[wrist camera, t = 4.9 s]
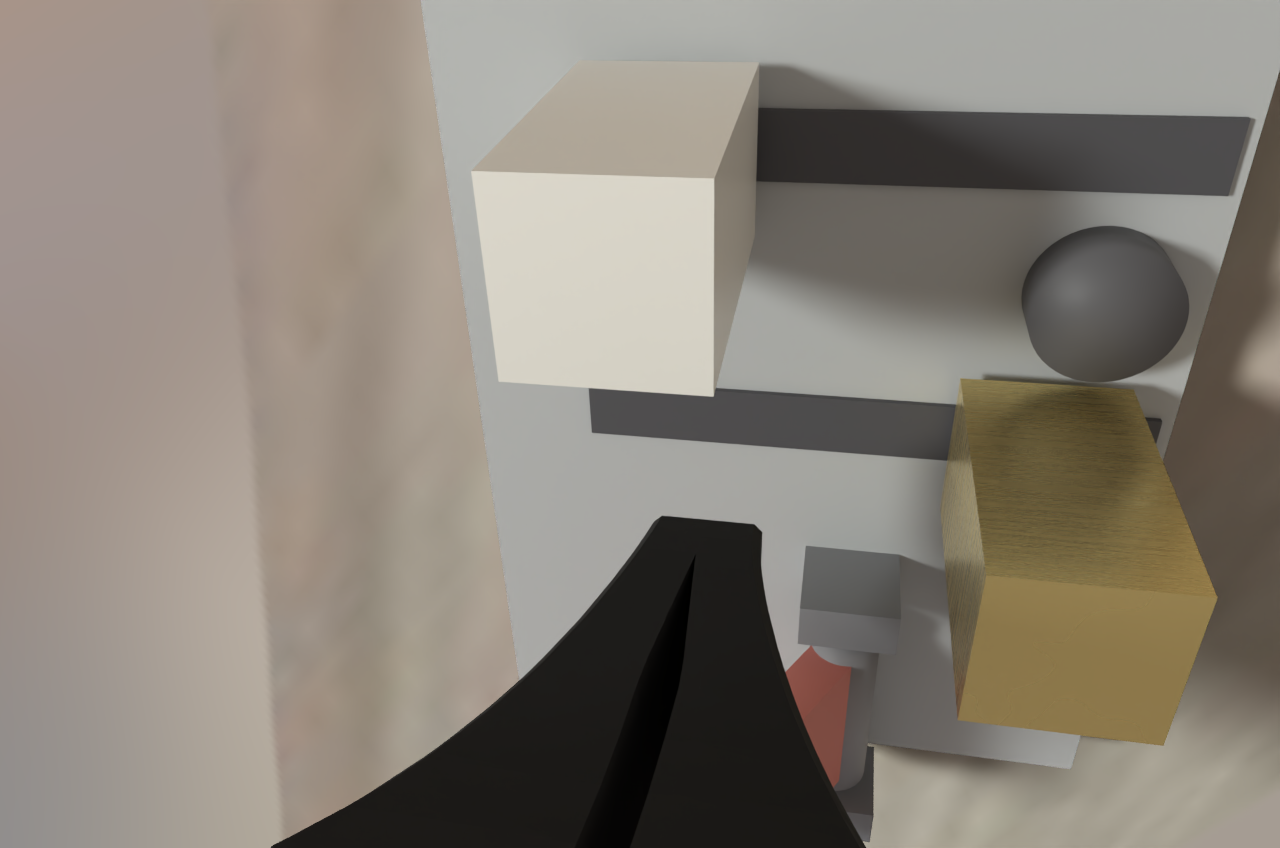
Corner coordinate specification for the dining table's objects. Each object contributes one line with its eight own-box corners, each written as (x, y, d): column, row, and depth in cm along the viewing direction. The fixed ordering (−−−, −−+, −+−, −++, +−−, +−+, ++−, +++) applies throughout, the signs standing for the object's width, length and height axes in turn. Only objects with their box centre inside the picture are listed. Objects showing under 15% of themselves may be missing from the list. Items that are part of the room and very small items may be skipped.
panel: (1053, 749, 21) (1074, 872, 19) (541, 684, 23) (503, 788, 21) (1271, -30, 13) (1356, 17, 11) (450, -25, 15) (370, 14, 13)
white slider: (754, 236, 14) (713, 397, 11) (590, 230, 15) (498, 381, 11) (759, 62, 13) (713, 177, 10) (579, 60, 14) (471, 171, 10)
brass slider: (1098, 520, 16) (1163, 745, 12) (940, 506, 16) (957, 720, 13) (1133, 389, 15) (1218, 597, 11) (960, 378, 15) (985, 575, 11)
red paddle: (876, 761, 20) (654, 1035, 15) (822, 729, 20) (596, 984, 16) (894, 624, 18) (646, 898, 14) (834, 595, 18) (581, 847, 14)
